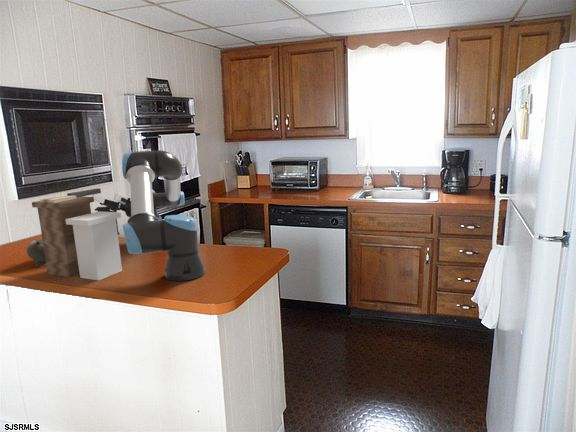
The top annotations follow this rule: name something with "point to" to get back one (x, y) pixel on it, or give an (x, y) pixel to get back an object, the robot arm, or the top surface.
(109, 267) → the white tapered pedestal
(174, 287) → the top surface
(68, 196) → the turner
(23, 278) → the top surface
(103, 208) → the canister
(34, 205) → the plinth
